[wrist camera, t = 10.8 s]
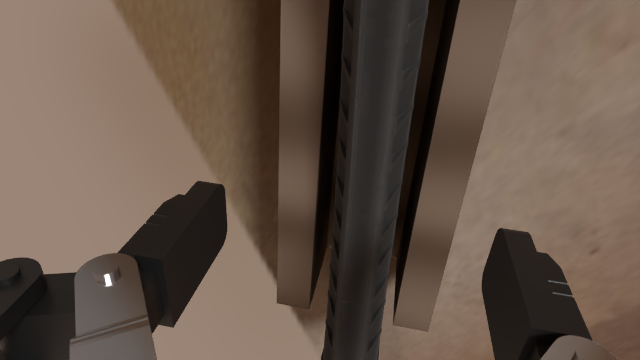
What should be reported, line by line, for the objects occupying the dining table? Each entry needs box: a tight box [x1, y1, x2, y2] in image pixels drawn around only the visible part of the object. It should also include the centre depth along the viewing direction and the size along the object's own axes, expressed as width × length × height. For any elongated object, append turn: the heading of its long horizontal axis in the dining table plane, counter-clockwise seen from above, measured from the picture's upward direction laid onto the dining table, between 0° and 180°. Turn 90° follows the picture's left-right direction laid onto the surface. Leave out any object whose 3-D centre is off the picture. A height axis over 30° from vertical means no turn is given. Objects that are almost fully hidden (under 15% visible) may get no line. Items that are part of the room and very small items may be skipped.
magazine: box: [321, 0, 429, 360], centre depth 21 cm, size 17×3×30 cm
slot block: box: [277, 0, 516, 332], centre depth 23 cm, size 24×9×7 cm, turn 177°
